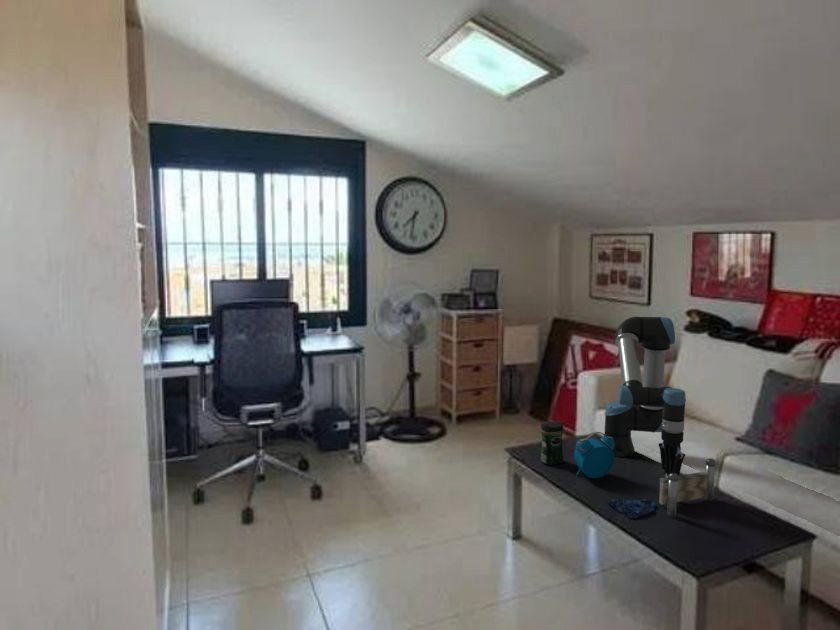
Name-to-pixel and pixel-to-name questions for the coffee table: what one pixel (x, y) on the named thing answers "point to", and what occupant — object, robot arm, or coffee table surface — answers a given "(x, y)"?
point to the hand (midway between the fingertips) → (669, 490)
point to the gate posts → (674, 486)
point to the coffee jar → (551, 442)
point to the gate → (685, 487)
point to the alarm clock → (594, 456)
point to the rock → (632, 506)
